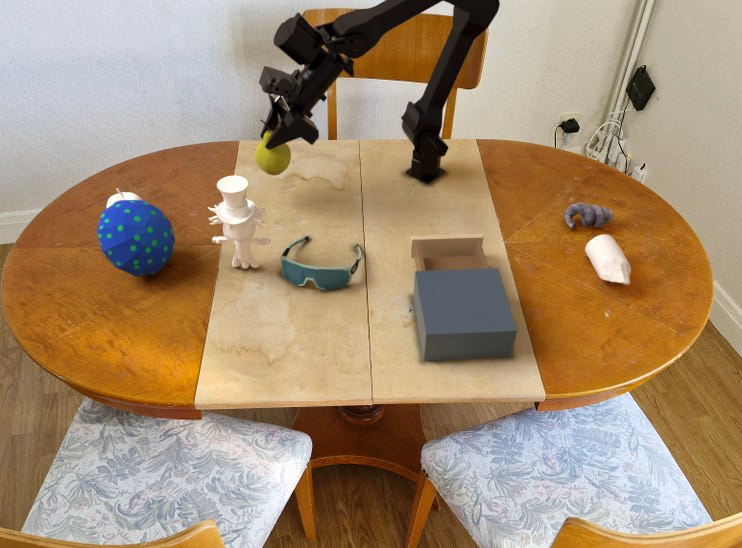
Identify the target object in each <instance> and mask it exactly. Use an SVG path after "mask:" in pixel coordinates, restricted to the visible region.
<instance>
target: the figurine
mask: <svg viewBox="0 0 742 548" xmlns="http://www.w3.org/2000/svg"><path fill="white" fill-rule="evenodd" d="M248 186H249V181H248V180H247V178H245V177H244V176H241V175H228V176H224V177H222V178H220V179H219V180H218V181H217V183H216V188H217V190H218V191H219V192H220V194H221V196H222V199H223V201H221V202H220V203H219V204H218V205H216V204H214V207H210V206H207V209H208V210H209V211H210V212H212V213H215V214H216V215H214V216H212V217H208V220H209V221H210V223H208V224H209V225H211V226H214V225H218V224H219V225H221V224H222V233H223V236H221V235H219V236H213V237H212V239H211V241H212V243H214V244H216V245H219V244H220V245H221V244H233V245H234V250H235V253H234V254H233V258H232V262H231V266H232V268H233V267H234V268H236V267H240V265H241V267H242V269H245V270H247V269H248V268H249V267H252V268H258V267H259V266H260V265H259V263H258V261H257V260H256V258H255V256H254V255H253V253H252V252H251V244H252V245H260V246H266V245H270V244H271V238H267V237H255V238H254V236H255V233H256V230H257V227H259V228H262V227H263V226H264V225H262V224H267V223H268V221H267V220H264V219H263V218H262V217H265V214H264V213H265V212H266V209H264V208H265V207H264V206H262V207H257V205H256V203H255V202H254V201H252V200H250V199H247V189H248ZM240 260H243V262H241V264H240ZM248 260H249V262H250V264H249V262H248Z"/></svg>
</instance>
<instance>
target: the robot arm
mask: <svg viewBox="0 0 742 548" xmlns="http://www.w3.org/2000/svg"><path fill="white" fill-rule="evenodd" d="M442 2H445V3H448V4H450V5H452V6H453V9H452V25H451V26H452V27H451V29H450V31H449V34H448V36H447V39H446V41H445V43H444V46H443V48H442V50H441V53H440V55H439V57H438V60H437V62H436V64H435V67H434V69H433V71H432V73H431V74H430V75H431V76H430V77H429V80H428V83H427V85H426V87H425V89H424V91H423V94H422V96H421V97H420V98H419V99H418V100H417V101H415V102H413V101H410V100H409V101H408V102H407V104H406V107H405V108H406V109H405V111H404V113H403V115H402V116H401V117H400V119H401V121H402V122H401V129H402V131H403V133H404V135H405V136H406V137H407V139H408V140H409V142H411V144H412V145H413V150H412V155H411V157H412V158H411V161H410V162H411V163H410V168H408V169H406V170H405V175H408V176H409V177H412V178H413V179H416V180H418V181H420V182H422V183H424V184H426V185H430V184H431V183H433V182H435V181H436V180H437V179H439V178H440V177H442V176H444V175H445V174H446V170H445V169H444V168H442V167H441V161H442V157H445V156H446V154H447V152H448V150H449V145H448V144H447V143H446V142H445V141H444V139H443V138H442V136H440V135H441V130H442V127H443V112H444V107H445V105H446V103H447V101H448V99H449V96H450V94H451V92H452V90H453V88H454V85H455V84H456V81H457V79H458V77H459V74H460V72H461V70H462V68H463V66H464V64H465V61H466V60H467V57H468V55H469V53H470V51H471V49H472V46H473V44H474V42H475V40H476V39H477V38H478V37H479V36H480V35H482V34H483V33H484V32H485V31H487V30H488V28H489V27H490V26H491V24H492V23H493V20H494V19H495V17H496V16H497V14H498V12H499V10H500V6H501V2H500V0H384V1H382V2H380V3H378V4H376V5H374V6H372V7H368V8H358V9H355V10H352V11H348V12H345V13H343V14H340V15H339V16H337V17H336V18H335V19H334V20H333V21H330V22H329V21H328V22H326V23H323V24H318V25H312V24H311V23H309V21H308V20H307V19H306V18H305V16H303V14H302V13H301V12H296V13H295V15H294V16H292V17H289V18H287V19H286V20H285V21H284V22H281V24H280V25H279V26H278V28H277V30H276V31H275V34H274V37H273V45H274V46H275V47H276V48H277V49H279V50H280V51H281V52H282V53H283V54H284V55H286V56H287V57H289V58H290V59H291V60H292V61H293V62H295V63H296V64H297V65H298V66H303V65H305V66H304V67H303V69H302V70H300V69H299V68H297V69H294V71H292V72H291V74H290V73H288V72H285V71H283V70H281V69H278V68H274V67H270V66H267V65H263V67H262V71H261V75H260V77H259V80H258V85H260V87H261V91H262V92H263V93H265V94H267V95H268V101H269V107H270V109H269V111H268V114H267V117H266V119H265V121H264V122H265V123H266V124H267V125H268V126H267V125H265V124H263V127H262V129H261V132H260V135H259V137H260V138H261V139H262V140H263V138H264V134H265V133H266V132H267V131H268V130H269V129H270V130H271V131H273V133H272V135H271V136H270V138H269V140H268V141H267V143H266V145H265V147H266V148H267V149H268V150H271V149H273V148H275V147H278V146H280V145H282V144H284V143H286V144H287V143H289V142H292V141H294V140H297V139H298V140H299V139H300V138H301V139H302V140H304V141H305V142H307V143H308V144H309V145H311V146H313V145H315V143H316V142H317V141H318V139H319V138H320V131H319V129H318V127H317V126H316V124H315V122H314V121H313V120H311V118H312V117H313V116H314V114H313V112H312V110H313V109H314V108H315V106H316V105H317V104H318V103H319V102H320V101H322V102H323V103H324V102H325V101H327V99H328V97H327V95H326V93H327V92H328V90H329V89H331V87H332V85H333V84H334V83H335V82H336V81H337V79H338V78H339V77H340V76H341V74H343V72H345V73H346V74H347V75H348V76H349V77H351V78H354V77H355V69H354V65H355V61H354V60H356V59H360V58H362V57H363V56H365V55H366V54H367V53H368V52H370V51H371V50H372V49H373V48H375V47H376V46H377V45H378V43H379V42H380V41H381V39H382V38H383V37H384V36H385V35H386V34H388V33H389V32H390V31H391V30H393V29H395V28H397V27H398V26H401V25H402V24H405V23H406V22H408V21H409V20H412V19H413V18H414V17H417V16H419V15H420V14H422V13H423V12H425V11H427V10H429V9H431V8H433V7H434V6H436V5H438V4H440V3H442ZM268 127H269V129H268Z"/></svg>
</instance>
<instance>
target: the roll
mask: <svg viewBox="0 0 742 548" xmlns="http://www.w3.org/2000/svg"><path fill="white" fill-rule="evenodd" d="M584 252H585V254H586V256H587V257H588V259H589V261H590V263H591V264H592V266H593V268H594V270H595V272H596V274H597V276H598V277H599V280H601V281H606V282H610V283H618V284H622V285H625V286H630V285H631V280H630V276H631V272H632V267H631V264H630V262H629V260H628V258H627V257H626V255H625V254H624V251H623V249H622V248H621V246H619V244H618V242H617V240H616V239H615V238H614V237H613V236H612V235H609V234H599V235H597V236H595V237H593V238H591V239H590V240H588V242H587V244H586V245H585V249H584Z"/></svg>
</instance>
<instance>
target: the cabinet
mask: <svg viewBox="0 0 742 548" xmlns="http://www.w3.org/2000/svg"><path fill="white" fill-rule="evenodd" d="M413 281H414V282H413V294H412V298H413V299H412V300H413V304H414V305H413V306H414V310H415V317H416V323H417V329H418V333H419V334H418V335H419V340H420V346H421V353H422V359H423V361H424V362H426V361H427V362H429V361H448V360H470V359H471V360H472V359H490V358H491V359H493V358H511V357H512V354H513V350H514V346H515V341H516V338H517V333H518V329H517V325H516V323H515V320H514V316H513V313H512V309H511V306H510V303H509V300H508V297H507V293H506V290H505V286H504V283H503V281H502V276H501V273H500V270H499V267H493V268H492V267H490V268H489V267H488V269H461V270H433V271H417V270H415V271H414V280H413Z"/></svg>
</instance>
